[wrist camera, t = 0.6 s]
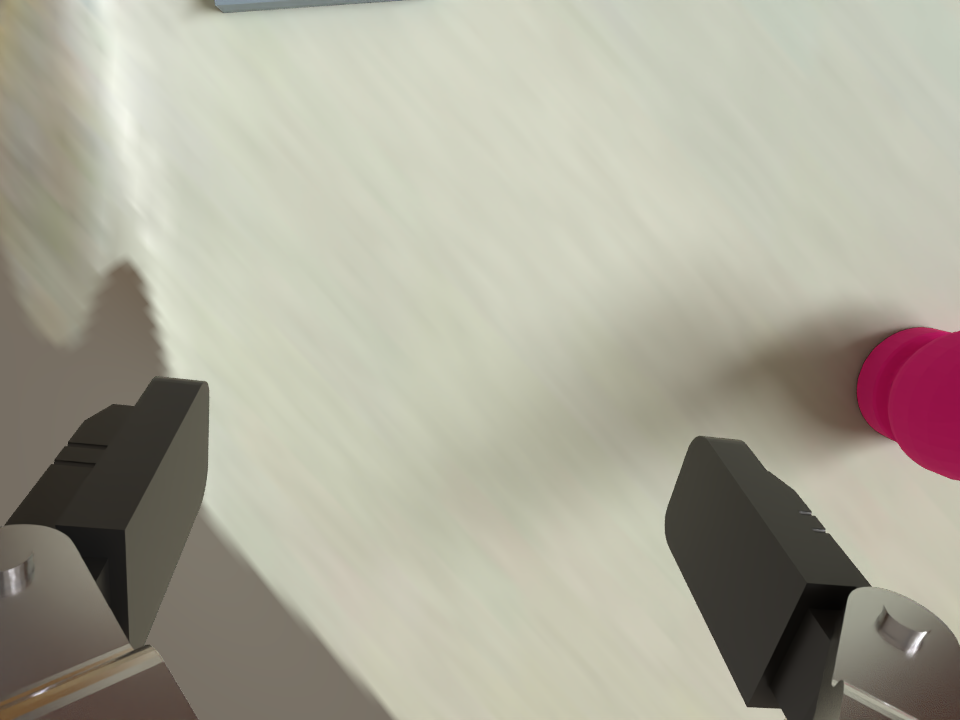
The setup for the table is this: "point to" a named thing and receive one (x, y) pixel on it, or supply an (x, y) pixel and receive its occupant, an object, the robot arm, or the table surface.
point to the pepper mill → (916, 396)
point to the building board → (280, 4)
